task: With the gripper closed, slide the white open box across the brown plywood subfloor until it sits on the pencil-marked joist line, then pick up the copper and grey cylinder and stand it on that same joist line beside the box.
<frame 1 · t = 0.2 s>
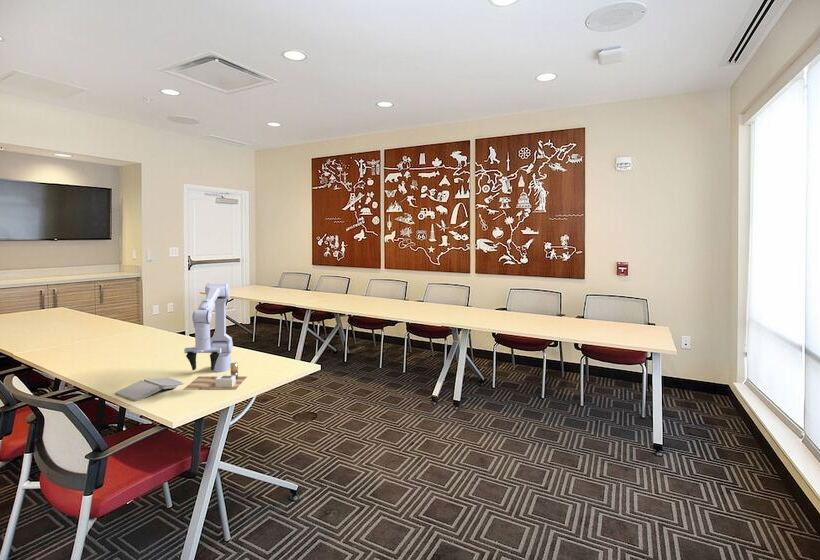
hand: (203, 369, 190), 10 cm above the table, fingers open, 7 cm apart
white open box: (225, 385, 197), point 1 cm above the table, touching subfloor
subfloor: (216, 385, 200), on the table
copper and grey cylinder: (234, 378, 206), point 1 cm above the table, touching subfloor
grey bent flat piece: (152, 391, 193), on the table
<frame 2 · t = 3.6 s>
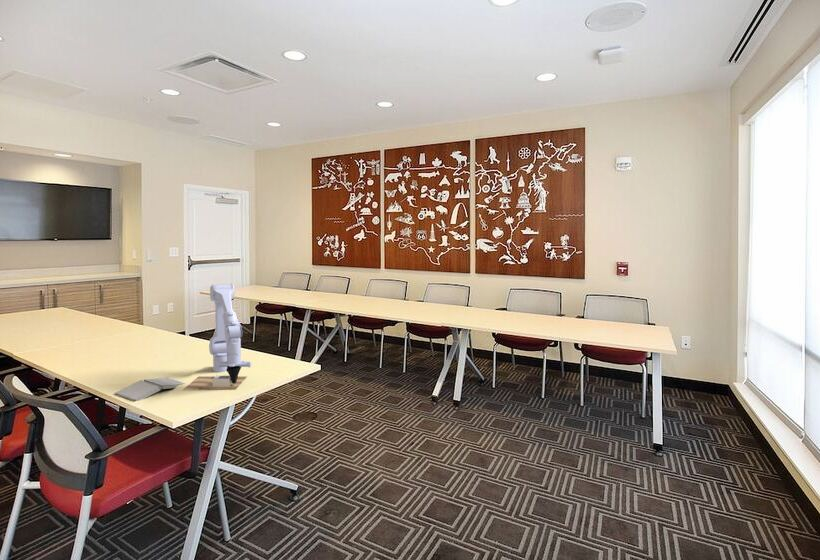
hand: (234, 382, 197), 2 cm above the table, fingers closed
white open box: (222, 385, 197), point 1 cm above the table, touching gripper
everything else where it was.
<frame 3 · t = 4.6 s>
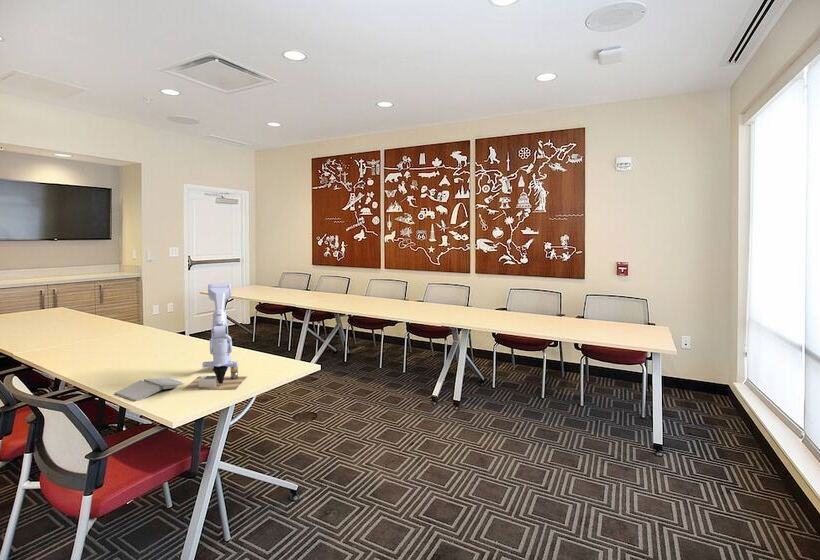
hand: (220, 382, 197), 2 cm above the table, fingers closed
white open box: (209, 385, 196), point 1 cm above the table, touching gripper, subfloor
everything else where it was.
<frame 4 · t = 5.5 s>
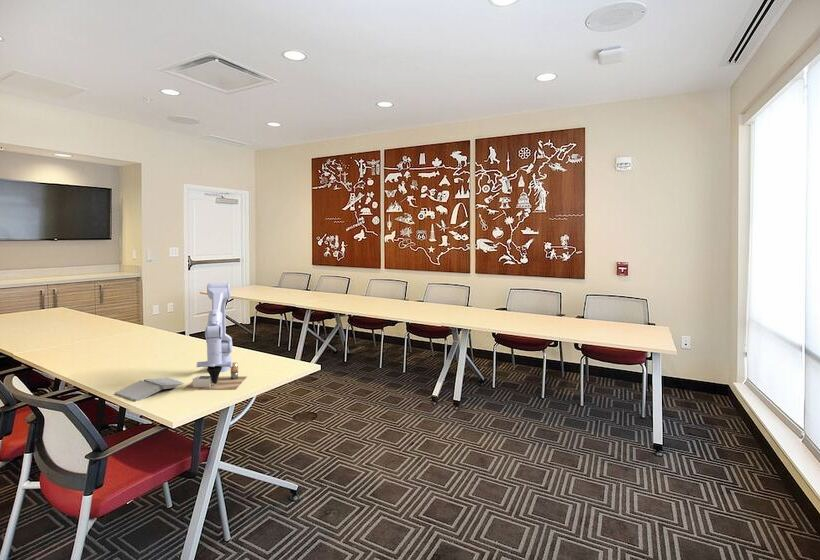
hand: (215, 382, 196), 2 cm above the table, fingers closed
white open box: (203, 385, 196), point 1 cm above the table, touching gripper, subfloor
everything else where it was.
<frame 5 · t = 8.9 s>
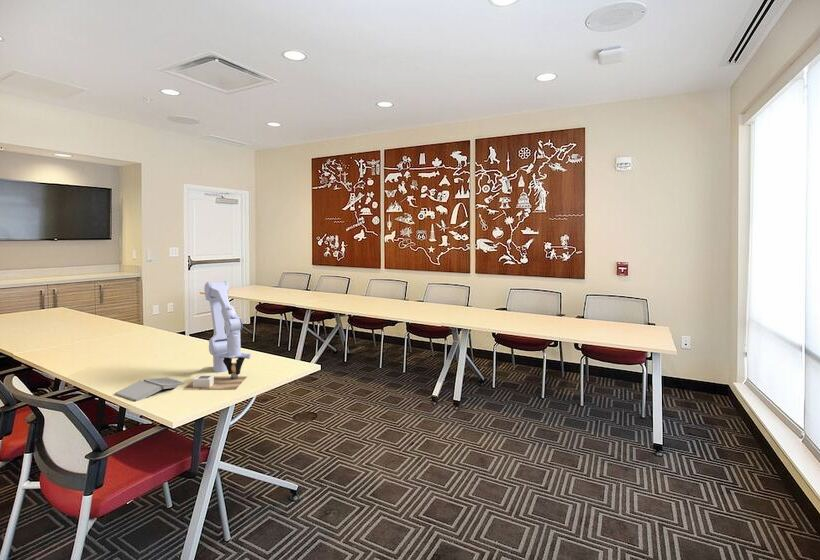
hand: (234, 373, 206), 3 cm above the table, fingers closed on copper and grey cylinder, 3 cm apart
white open box: (203, 385, 196), point 1 cm above the table, touching subfloor
copper and grey cylinder: (234, 378, 206), point 1 cm above the table, touching gripper, subfloor
everything else where it was.
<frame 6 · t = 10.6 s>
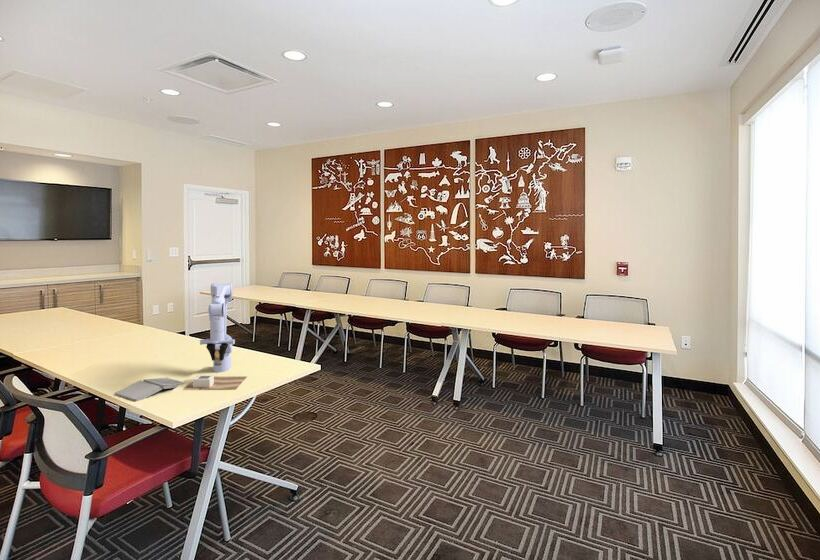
hand: (217, 359, 203), 10 cm above the table, fingers closed on copper and grey cylinder, 3 cm apart
copper and grey cylinder: (218, 364, 203), point 8 cm above the table, touching gripper
everything else where it was.
when the fingers open (4 cm above the table, at t = 12.3 s): copper and grey cylinder stays where it is, resting on subfloor.
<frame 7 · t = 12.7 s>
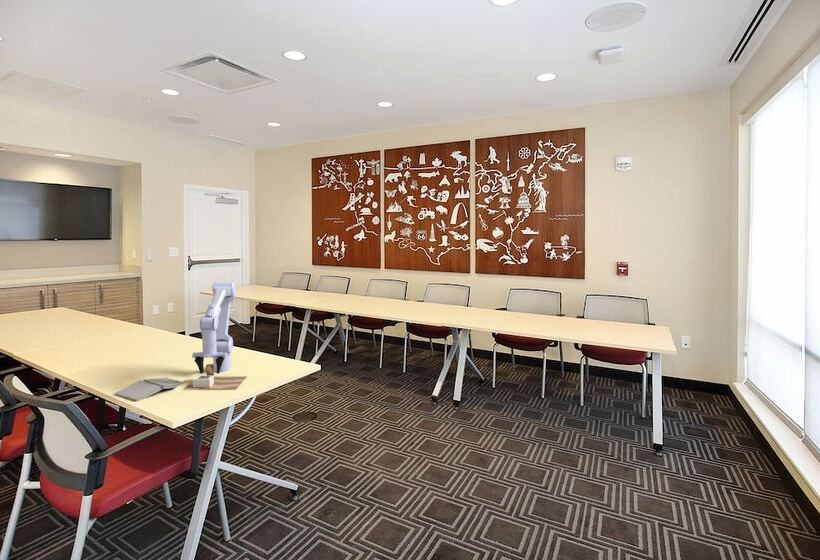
hand: (210, 373, 203), 4 cm above the table, fingers open, 7 cm apart
copper and grey cylinder: (210, 379, 203), point 1 cm above the table, touching subfloor
everything else where it was.
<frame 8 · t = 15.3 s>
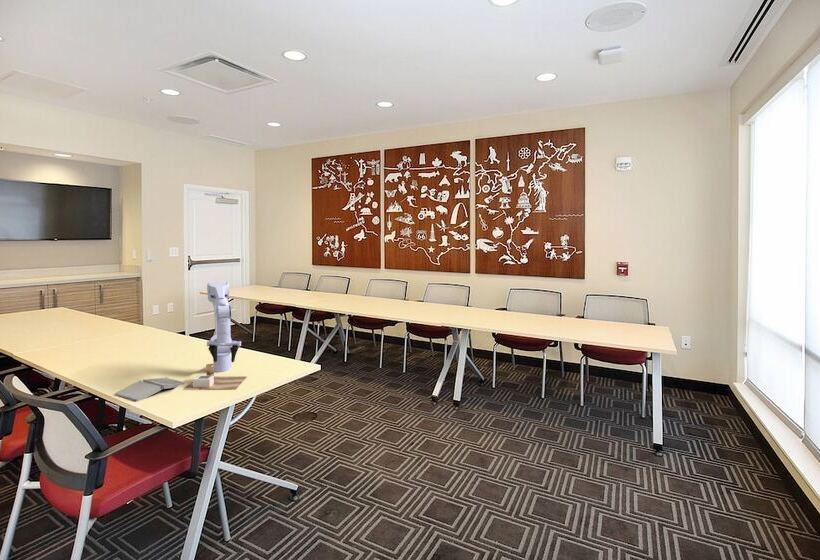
hand: (224, 361, 204), 9 cm above the table, fingers open, 7 cm apart
nothing on the table moved.
at the end: white open box 0.4 cm from the target spot, point 1.2 cm above the table; copper and grey cylinder 0.0 cm from the target spot, point 1.2 cm above the table; copper and grey cylinder tilted 1° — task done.
